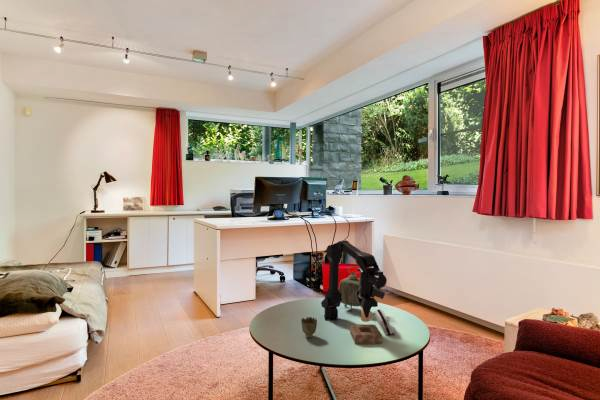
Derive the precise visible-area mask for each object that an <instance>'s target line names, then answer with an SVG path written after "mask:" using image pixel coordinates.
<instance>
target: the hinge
mask: <svg viewBox="0 0 600 400" xmlns="http://www.w3.org/2000/svg"><path fill="white" fill-rule="evenodd" d="M373 312H374V315H375V319H376V321H377V324H378V326H379V327H380V329H381V331H382V332H383V333H384V335H385V336H388V335H389V334H390V335H392V334H394V336H396V335H397V334H396V331H395V330H394V328H393V327H392V326H391V323H390V322H389V319H388V317H387V315H386V314H385V312H384V311H383V309H382V308H378V309H375V310H373Z"/></svg>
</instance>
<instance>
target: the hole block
mask: <svg viewBox="0 0 600 400" xmlns="http://www.w3.org/2000/svg"><path fill="white" fill-rule="evenodd" d="M349 334H350V336H351V338H352V341H353V343H354V345H381V344H383V335H382V332H381V331H380V330H379V328H378V326H377V325H376V324H349Z"/></svg>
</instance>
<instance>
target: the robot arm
mask: <svg viewBox="0 0 600 400" xmlns="http://www.w3.org/2000/svg"><path fill="white" fill-rule="evenodd" d="M325 251H326V257H327V258H326V259H328V262H329V264H328V265H329V267H328V288H327V289H326V291H325V294H324V299H322V301H321V302H320V304H321V307H322V308H324V310H323V311H324V312H323V313H324V314H323V318H324V320H325V321H338V318H339V310H338V308H340V306H341V304H342V303H341V300H342V293H340V292H339V273H340V271H339V270H340V261H341V259H342V258H343V253H344V252H345V253H346V254H348V255H349V256H350V257H351V258H352V259H354V261H355V264H356V265H358V268H357V269H356V270H357V272H358V271H359V278H360V283H359V286H360V289H357V290H356V296H358V294H359V297H357V299H358V301H359V304H360V306H361V307H362V308H363V311H364V314H365V317H366V318H368V316H369V313H370V314H371V309H372V308H378V307H379V306H378V304H379V303H378V301H377V300H376V299H375V297H376V298H379V299H381V300H383V299H384V297H385V295H386V292H385V291H384V290H383V289H382V288H384V287H385V286H386V285H387V276H386V275H384V271H381V270H380V267H379V265H378V262H377V260H376V258H375V256H374V255H373V254H371V253H368V252H364V251H361V249H359V248H357V247H356V246H354V245H353V244H352V243H350V242H349V241H348V240H346V239H345V240H339V241H337V242H336V243H332V244H329V245H328V246H327V247H326V250H325ZM360 306H359V307H360ZM361 307H360V308H361Z"/></svg>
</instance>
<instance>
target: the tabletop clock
mask: <svg viewBox="0 0 600 400" xmlns="http://www.w3.org/2000/svg"><path fill="white" fill-rule="evenodd" d="M349 269H356V270H357V269H358V268H357V267H356V266H349V267H347V273H349V274H350V275H348V277H346V278H343V279H341V280H340V282H339V284H338V290H339V292H340V293H342V300H341V303H340V304H343V305H344V307H345V308H347V307H348V306H350V308H349V312H353V307H360V308H361V306H360V304H359V301H358V299H357V297H359V294H358V296H356V290H357V289H360V286H359V283H360V277H358V276H357V274H359V273H360V271H357V272H355V271H352V272H351V271H349Z"/></svg>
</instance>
